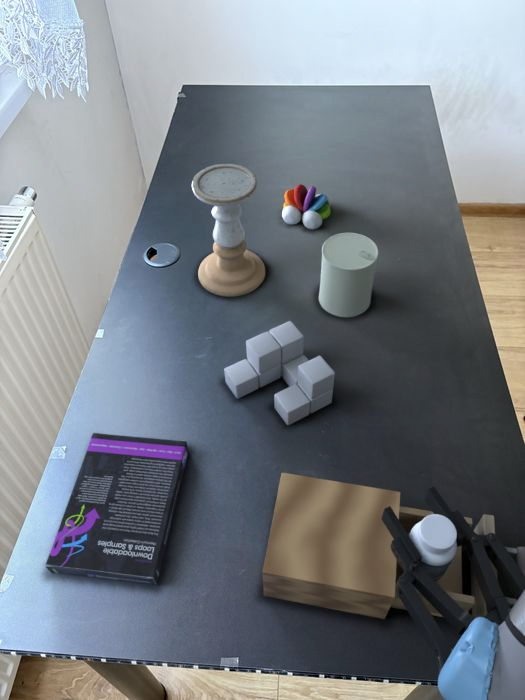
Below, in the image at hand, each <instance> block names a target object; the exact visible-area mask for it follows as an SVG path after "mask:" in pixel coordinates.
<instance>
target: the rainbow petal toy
mask: <svg viewBox="0 0 525 700" xmlns="http://www.w3.org/2000/svg"><path fill="white" fill-rule="evenodd" d="M316 193H317V188H316V186H314V185H313V186H310V187H309V189H308V188H307V187H306V186H305V185H304V184H302V183H301V184H297V185H296V186H295V188H291V189H290V188H289V189H287V190H286V191H285V192H284V200H285V202H284V203H283V207H282V211H281V217H282V220H283V221H284V222H285V223H286V224H288V225H297V224H298V223H300V222H301V221H302V223H303V225H304V227H305V228H307V229H308V230H317V229H318V228H320V227H321V226H322V224H323V220H325V219H327V218H328V217H330V215H331V201H330V199H329V197H328V196H327V194H325V193H317V194H316Z"/></svg>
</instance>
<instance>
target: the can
mask: <svg viewBox="0 0 525 700" xmlns="http://www.w3.org/2000/svg"><path fill="white" fill-rule="evenodd" d="M378 259H379V248H378V246H377V244H376V242H374V240H372V239H371V238H369V237H368V236H367V235H364V234H360V233H358V232H357V233H356V232H340V233H336V234H333V235H332V236H330V237H329V238H327V239H326V240H325V241H324V243H322V247H321V267H320V268H321V269H320V280H319V281H320V282H319V292H318V301H319V304H320V306H321V308H322V309H323V310H324V311H326V312H327V313H329V314H331V315H333V316H336V317H340V318H353V317H357V316H359V315H361V314H363V313H365V312H366V311H367V310H368V309H369V307H370V305H371V302H372V301H371V299H372V292H373V291H372V290H373V285H374V279H375V274H376V273H375V272H376V267H377V262H378Z"/></svg>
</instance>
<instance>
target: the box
mask: <svg viewBox="0 0 525 700" xmlns="http://www.w3.org/2000/svg"><path fill="white" fill-rule="evenodd" d="M188 455H189V446H188V442H187V440H184V439H183V440H182V439H165V438H154V437H142V436H131V435H120V434H119V435H118V434H108V433H100V432H92V434H91V437H90V440H89V443H88V446H87V449H86V452H85V454H84V458H83V460H82V463H81V466H80V469H79V471H78V474H77V477H76V480H75V483H74V485H73V488H72V491H71V493H70V496H69V498H68V502H67V505H66V508H65V510H64V513H63V516H62V519H61V521H60V524H59V526H58V530H57V532H56V536H55V538H54V540H53V543H52V546H51V550H50V552H49V554H48V556H47V559H46V562H45V568H46V569H47V570H48V571H49V572H50V573H51V574H59V575H67V576H75V577H84V578H93V579H100V580H109V581H116V582H117V581H118V582H124V583H134V584H140V585H146V586H147V585H149V586H155V587H156V586H157V585H158V582H159V577H160V573H161V569H162V565H163V561H164V557H165V553H166V549H167V543H168V540H169V535H170V531H171V527H172V523H173V520H174V514H175V510H176V506H177V503H178V498H179V494H180V490H181V485H182V481H183V476H184V472H185V468H186V463H187V459H188Z"/></svg>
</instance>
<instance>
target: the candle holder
mask: <svg viewBox="0 0 525 700" xmlns="http://www.w3.org/2000/svg"><path fill="white" fill-rule="evenodd" d="M257 189H258V179H257V176H256V174H255V173H254V172H253V171H252V169H249V168H248V167H245V166H243V165H240V164H237V163H236V164H235V163H217V164H213V165H209V166H207V167H205V168H203V169H201V170H200V171H199V172H197V173H196V174H195V175H194V177H193V179H192V181H191V190H192V193H193V195H194V196H195V197H196V198H197V199H198V200H199V201H200V202H202V203H204V204H208V205H211V206H213V207H212V209H211V215H212V217H213V218H214V219H215V224H214V228H213V231H212V238H213V240H214V243H213V245H212V250H213V252H212V253H210V254H208V256H206V257H205V258H204V259H203V260H202V261H201V263H200V265H199V268H198V271H197V273H198V274H197V275H198V280H199V282H200V284H201V286H202V287H203V288H204V289H205V290H206V291H208V292H209V293H211V294H214V295H216V296H220V297H227V298H228V297H229V298H230V297H231V298H232V297H240V296H244V295H246V294H247V295H248V294H249V293H252V292H253V291H256V289H258V288H259V287H260V285H262V283H263V282H264V280H265V277H266V267H265V264H264V262H263V260H262V258H261V257H259V256H258V255H257V254H255V253H254V252H253V251H250V250H248V249H247V243H246V241H245V236H246V234H245V229H244V227H243V225H242V223H241V220H240V219H241V218H240V217H241V216H242V214H243V209H242V207H241V205H240V204H242V203H244V202H246V201H247V200H249V199H251V198H252V197H253V196H254V194H256V191H257Z"/></svg>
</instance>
